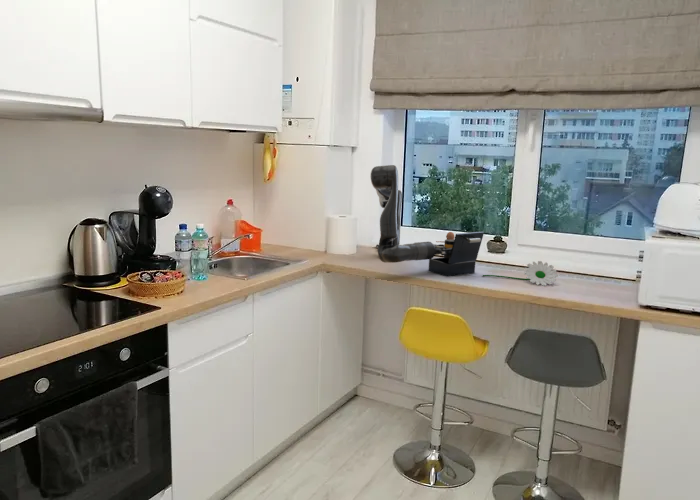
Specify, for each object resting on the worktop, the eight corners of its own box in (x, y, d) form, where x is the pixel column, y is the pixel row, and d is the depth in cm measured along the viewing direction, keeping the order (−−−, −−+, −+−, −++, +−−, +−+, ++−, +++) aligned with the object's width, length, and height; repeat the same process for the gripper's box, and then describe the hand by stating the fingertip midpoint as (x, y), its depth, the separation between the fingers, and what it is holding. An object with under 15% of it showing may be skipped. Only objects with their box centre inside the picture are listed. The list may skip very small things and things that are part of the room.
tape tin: (440, 268, 238) (442, 239, 236) (449, 267, 241) (451, 239, 239) (448, 271, 234) (450, 241, 231) (458, 270, 237) (460, 241, 234)
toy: (462, 262, 257) (464, 231, 254) (463, 264, 252) (465, 233, 250) (434, 261, 258) (436, 230, 255) (434, 263, 254) (436, 231, 251)
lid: (455, 233, 221) (462, 237, 218) (482, 231, 229) (490, 235, 226) (448, 262, 226) (454, 267, 223) (474, 259, 235) (481, 264, 231)
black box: (428, 270, 238) (429, 258, 237) (454, 267, 246) (455, 256, 245) (447, 276, 227) (448, 264, 226) (474, 273, 235) (475, 261, 234)
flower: (483, 260, 232) (557, 259, 221) (484, 269, 236) (557, 268, 225) (480, 282, 223) (558, 282, 212) (482, 291, 226) (558, 291, 216)
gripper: (433, 245, 221) (462, 242, 229) (411, 239, 232) (439, 237, 241) (432, 262, 222) (460, 259, 230) (410, 256, 234) (438, 253, 242)
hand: (450, 248), depth 236 cm, fingers open, 8 cm apart
